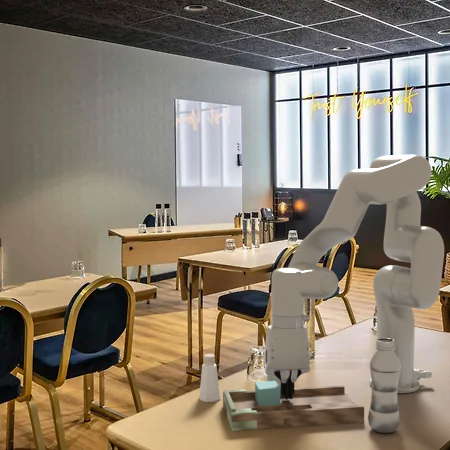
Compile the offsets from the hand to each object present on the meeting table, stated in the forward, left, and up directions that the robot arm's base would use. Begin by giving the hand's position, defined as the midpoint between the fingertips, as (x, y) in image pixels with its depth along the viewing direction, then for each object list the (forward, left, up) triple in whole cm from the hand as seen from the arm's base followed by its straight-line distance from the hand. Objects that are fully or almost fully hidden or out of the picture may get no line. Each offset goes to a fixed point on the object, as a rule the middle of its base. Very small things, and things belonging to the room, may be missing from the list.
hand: (287, 397), depth 144 cm
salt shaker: (+17, -10, -3) cm, 20 cm away
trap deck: (0, +3, -3) cm, 4 cm away
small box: (-2, -15, -3) cm, 15 cm away
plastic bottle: (-18, +15, -3) cm, 23 cm away
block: (+5, 0, -1) cm, 5 cm away
